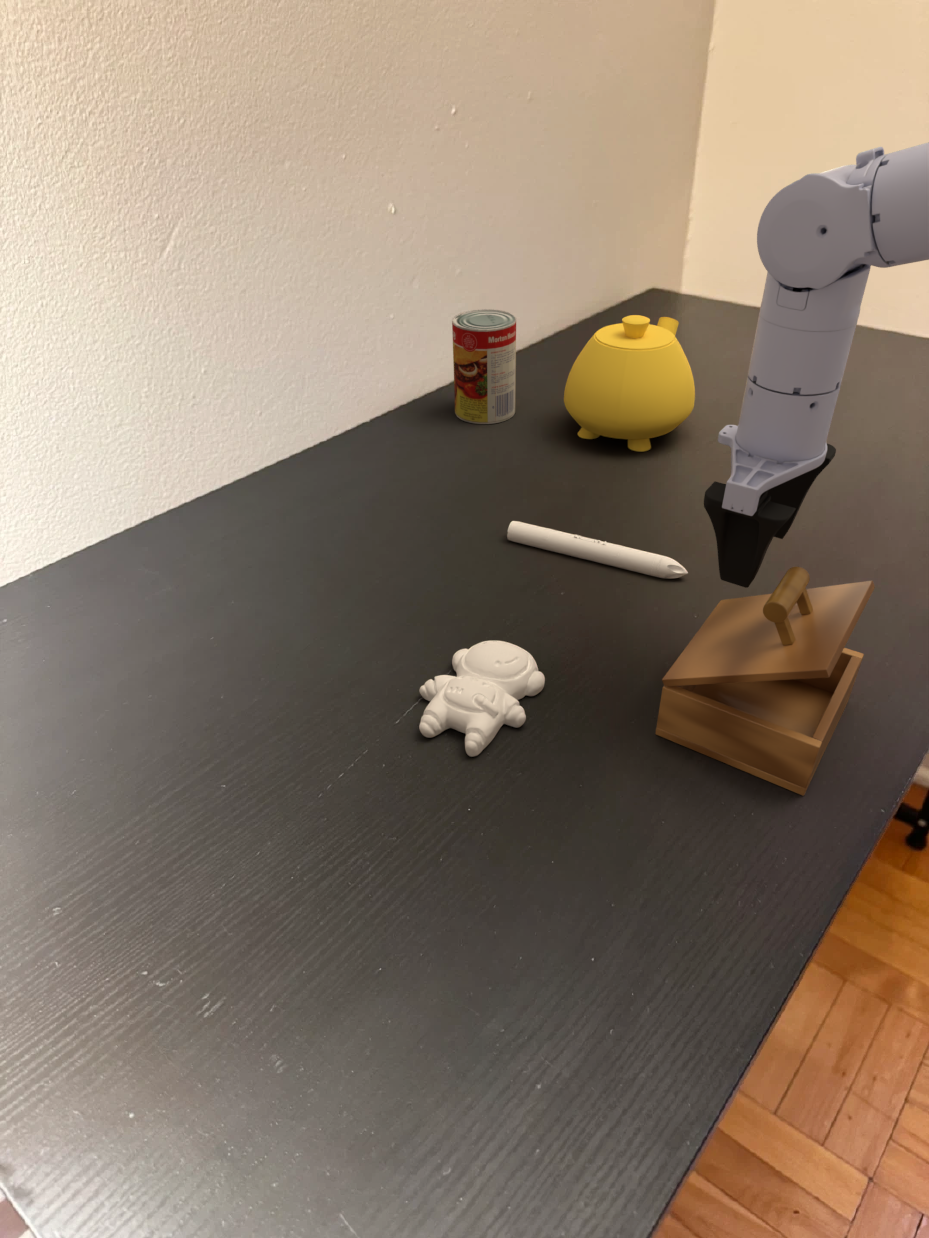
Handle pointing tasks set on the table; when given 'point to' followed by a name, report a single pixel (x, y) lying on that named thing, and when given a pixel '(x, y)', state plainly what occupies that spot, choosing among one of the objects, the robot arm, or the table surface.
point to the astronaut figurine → (481, 693)
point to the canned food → (484, 365)
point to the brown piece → (773, 634)
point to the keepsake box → (762, 721)
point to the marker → (595, 550)
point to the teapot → (631, 382)
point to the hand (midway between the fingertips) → (753, 556)
